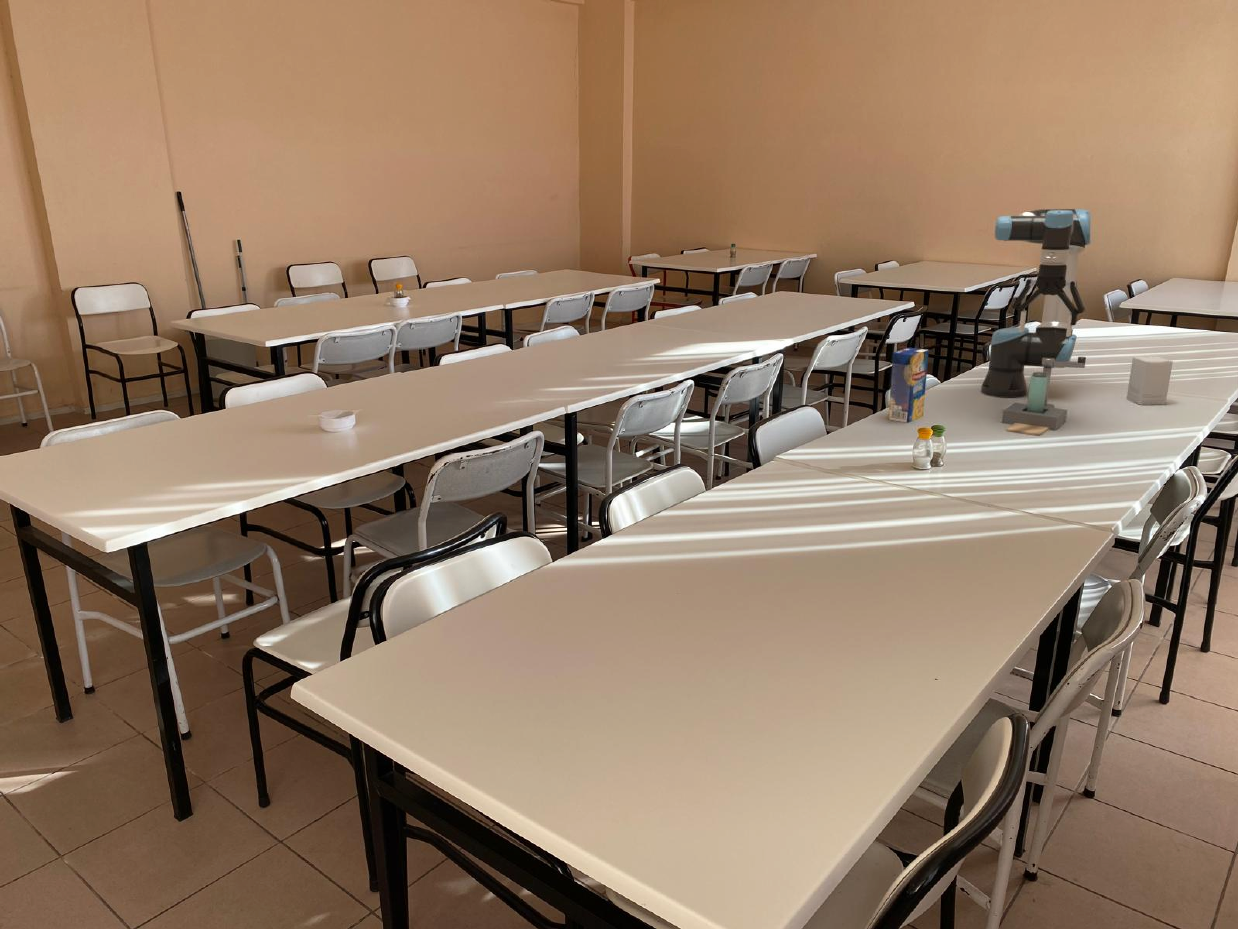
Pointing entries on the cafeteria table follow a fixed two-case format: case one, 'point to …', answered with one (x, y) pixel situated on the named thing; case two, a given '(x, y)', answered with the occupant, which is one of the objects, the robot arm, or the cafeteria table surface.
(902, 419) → the blue food box
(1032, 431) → the cork mat
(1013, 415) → the socket block
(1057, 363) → the clip
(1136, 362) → the supplement box
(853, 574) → the cafeteria table surface
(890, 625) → the cafeteria table surface
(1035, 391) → the plug
